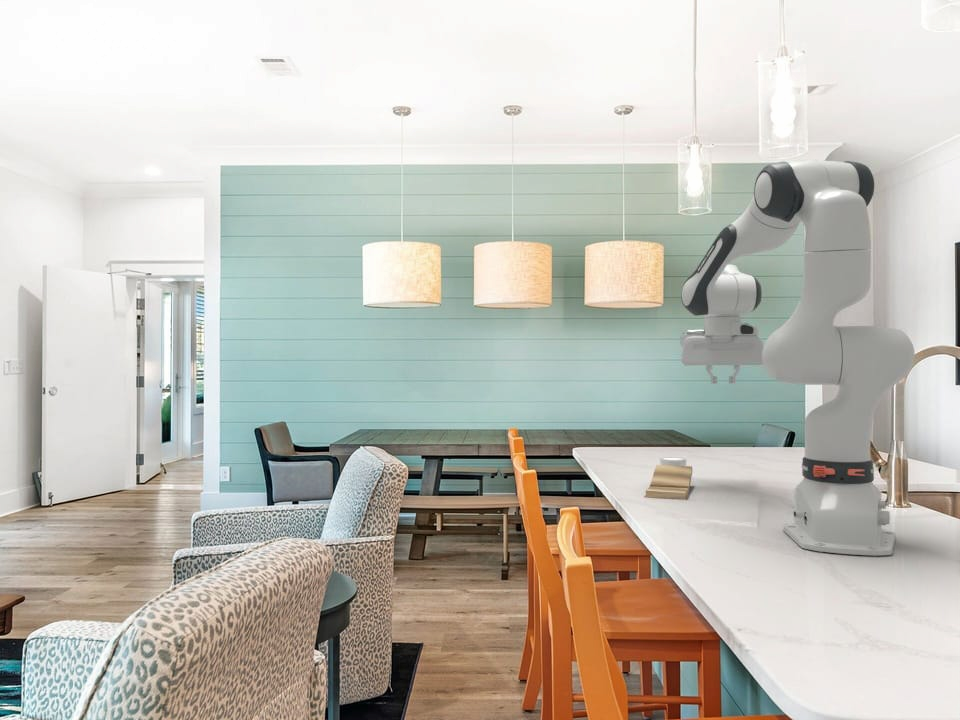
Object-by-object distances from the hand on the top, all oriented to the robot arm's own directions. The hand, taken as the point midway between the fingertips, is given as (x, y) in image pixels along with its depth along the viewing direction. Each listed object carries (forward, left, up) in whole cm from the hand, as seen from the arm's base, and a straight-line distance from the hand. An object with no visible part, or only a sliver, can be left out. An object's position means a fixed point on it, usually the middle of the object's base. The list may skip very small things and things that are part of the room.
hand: (723, 383), depth 185 cm
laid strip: (-18, +12, -27) cm, 35 cm away
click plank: (-9, +12, -24) cm, 28 cm away
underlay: (-12, +12, -27) cm, 32 cm away
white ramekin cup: (+4, +13, -27) cm, 31 cm away
